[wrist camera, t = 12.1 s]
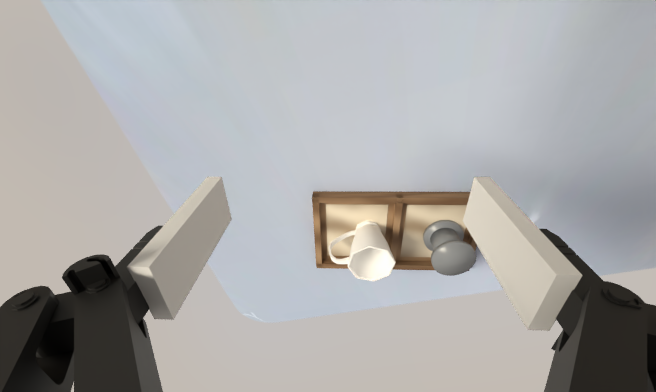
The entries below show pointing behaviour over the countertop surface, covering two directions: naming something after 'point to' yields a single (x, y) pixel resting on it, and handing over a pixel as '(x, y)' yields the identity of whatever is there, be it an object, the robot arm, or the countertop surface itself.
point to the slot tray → (385, 222)
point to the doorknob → (448, 248)
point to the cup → (367, 252)
